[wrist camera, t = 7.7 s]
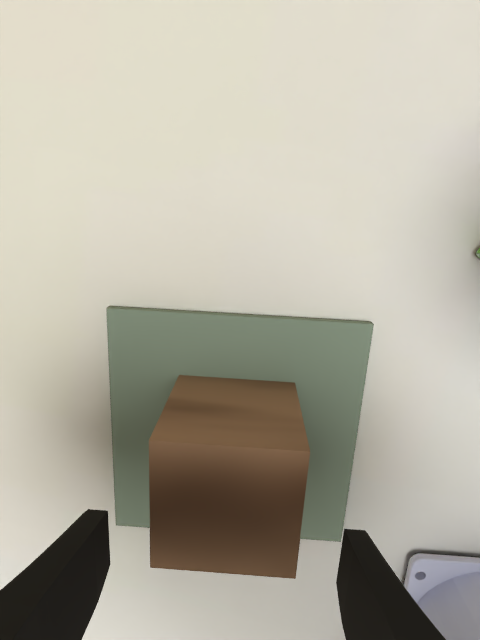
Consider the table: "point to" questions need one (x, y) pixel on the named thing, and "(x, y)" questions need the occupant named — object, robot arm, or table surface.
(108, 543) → the robot arm
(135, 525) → the green mat
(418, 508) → the table surface
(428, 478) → the table surface
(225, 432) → the walnut block
